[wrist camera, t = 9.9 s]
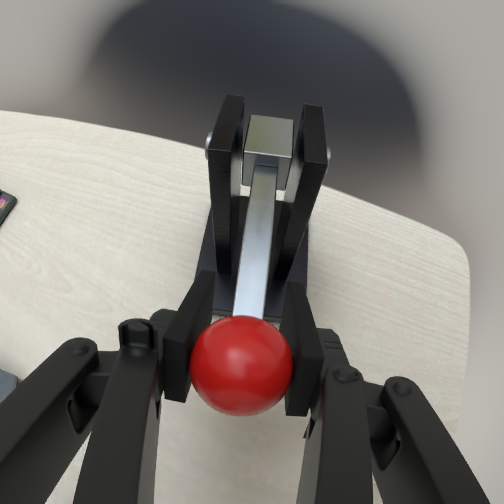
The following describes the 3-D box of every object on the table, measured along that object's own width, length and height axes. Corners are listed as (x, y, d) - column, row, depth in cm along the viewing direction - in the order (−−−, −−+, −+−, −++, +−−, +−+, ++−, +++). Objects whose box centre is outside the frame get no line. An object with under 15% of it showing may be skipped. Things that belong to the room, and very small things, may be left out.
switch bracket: (301, 325, 22) (369, 226, 11) (191, 311, 22) (151, 198, 11) (306, 212, 27) (345, 86, 16) (214, 200, 27) (208, 68, 16)
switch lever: (280, 418, 11) (297, 424, 8) (189, 406, 11) (172, 408, 8) (298, 161, 17) (310, 112, 14) (235, 153, 17) (236, 103, 14)
